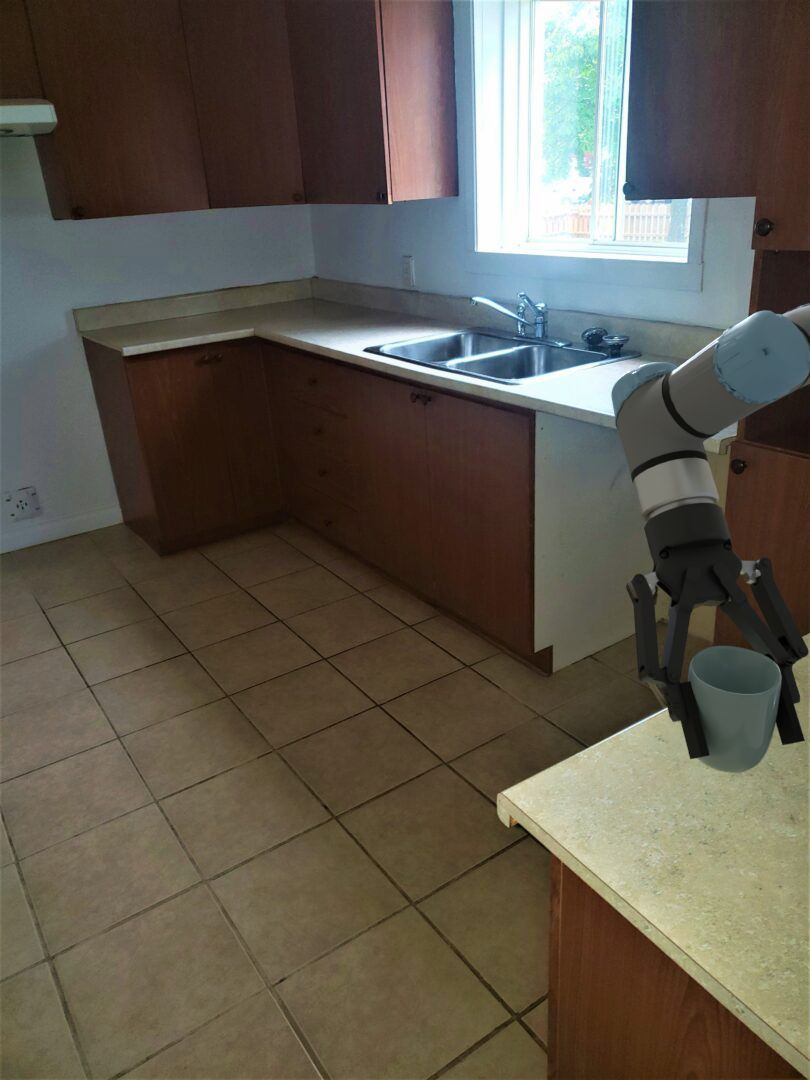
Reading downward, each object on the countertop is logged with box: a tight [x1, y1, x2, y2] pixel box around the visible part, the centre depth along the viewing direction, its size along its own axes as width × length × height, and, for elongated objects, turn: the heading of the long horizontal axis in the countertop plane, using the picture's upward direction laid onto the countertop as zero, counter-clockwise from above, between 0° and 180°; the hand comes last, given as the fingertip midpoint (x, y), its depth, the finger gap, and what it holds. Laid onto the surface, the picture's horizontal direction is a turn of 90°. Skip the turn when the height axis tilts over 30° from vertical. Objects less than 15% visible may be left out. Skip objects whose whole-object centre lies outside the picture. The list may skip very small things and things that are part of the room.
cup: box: [686, 645, 782, 774], centre depth 75 cm, size 8×8×10 cm
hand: (746, 749), depth 72 cm, fingers closed on cup, 8 cm apart
